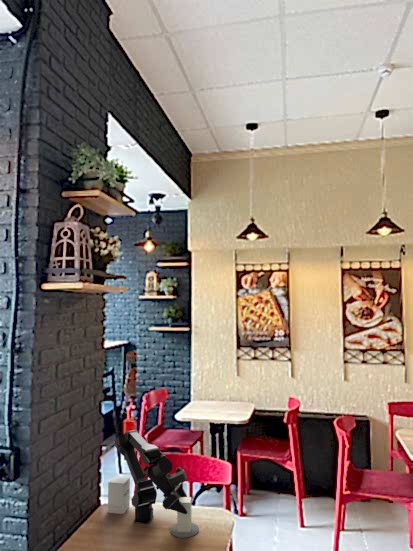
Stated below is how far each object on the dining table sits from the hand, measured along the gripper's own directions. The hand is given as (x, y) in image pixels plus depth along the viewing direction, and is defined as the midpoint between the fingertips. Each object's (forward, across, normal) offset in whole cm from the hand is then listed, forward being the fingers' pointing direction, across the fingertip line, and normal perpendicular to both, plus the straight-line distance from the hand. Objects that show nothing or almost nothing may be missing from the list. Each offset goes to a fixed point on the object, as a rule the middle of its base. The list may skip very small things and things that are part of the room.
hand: (188, 507), depth 175 cm
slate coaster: (+5, 0, +7) cm, 9 cm away
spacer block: (+5, 0, +7) cm, 8 cm away
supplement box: (-16, +17, +29) cm, 37 cm away
